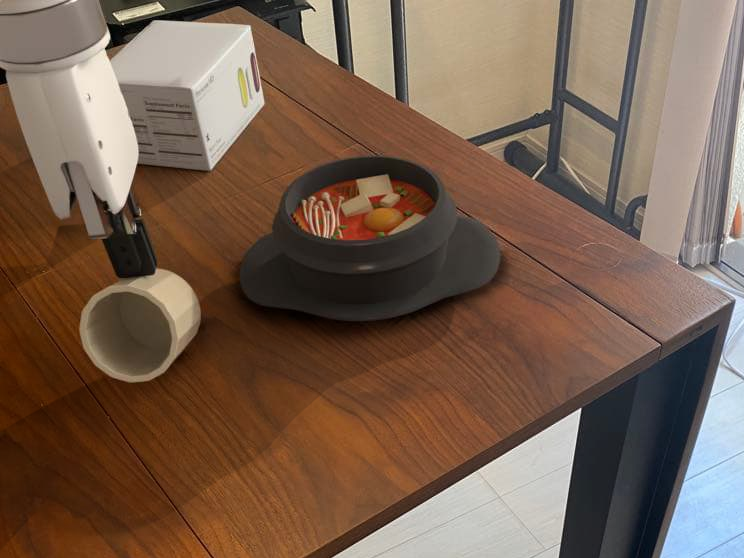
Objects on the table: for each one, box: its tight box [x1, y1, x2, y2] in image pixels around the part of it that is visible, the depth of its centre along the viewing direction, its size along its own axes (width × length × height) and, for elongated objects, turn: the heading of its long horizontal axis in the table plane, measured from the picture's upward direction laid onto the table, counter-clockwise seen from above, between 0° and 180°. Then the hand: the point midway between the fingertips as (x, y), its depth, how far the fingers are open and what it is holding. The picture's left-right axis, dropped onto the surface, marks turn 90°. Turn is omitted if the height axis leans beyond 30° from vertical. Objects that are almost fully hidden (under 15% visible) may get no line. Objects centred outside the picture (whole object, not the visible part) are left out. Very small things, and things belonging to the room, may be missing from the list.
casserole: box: [238, 155, 501, 322], centre depth 78 cm, size 25×19×8 cm
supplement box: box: [109, 19, 265, 172], centre depth 98 cm, size 17×13×9 cm
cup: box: [78, 267, 202, 384], centre depth 70 cm, size 7×7×11 cm
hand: (138, 270), depth 68 cm, fingers closed
